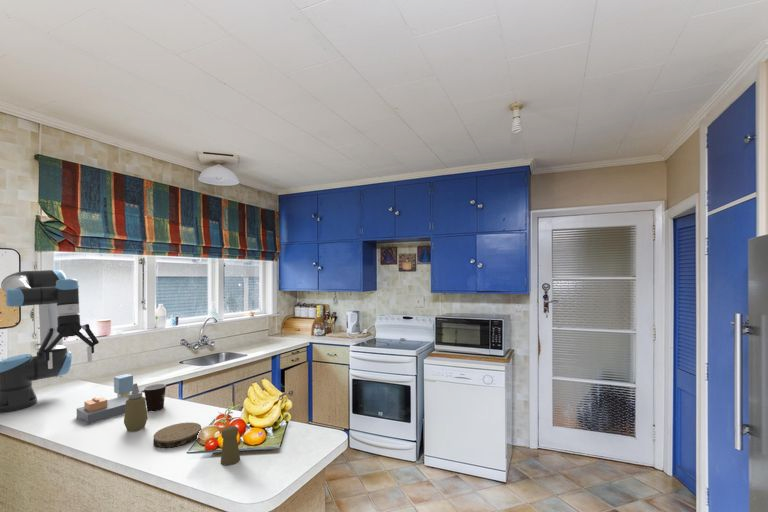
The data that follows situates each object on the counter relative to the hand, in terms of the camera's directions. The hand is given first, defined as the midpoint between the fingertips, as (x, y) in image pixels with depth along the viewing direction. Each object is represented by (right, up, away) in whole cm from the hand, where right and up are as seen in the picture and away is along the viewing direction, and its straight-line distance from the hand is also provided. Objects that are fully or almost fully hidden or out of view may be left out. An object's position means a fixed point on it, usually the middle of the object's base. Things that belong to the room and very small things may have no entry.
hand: (70, 365), depth 166 cm
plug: (+6, -24, +24) cm, 34 cm away
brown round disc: (+56, -22, -20) cm, 63 cm away
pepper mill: (+83, -21, -38) cm, 93 cm away
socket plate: (+11, -23, +6) cm, 27 cm away
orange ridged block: (+8, -19, +3) cm, 21 cm away
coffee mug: (+30, -23, +12) cm, 40 cm away
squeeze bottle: (+34, -23, -11) cm, 43 cm away
